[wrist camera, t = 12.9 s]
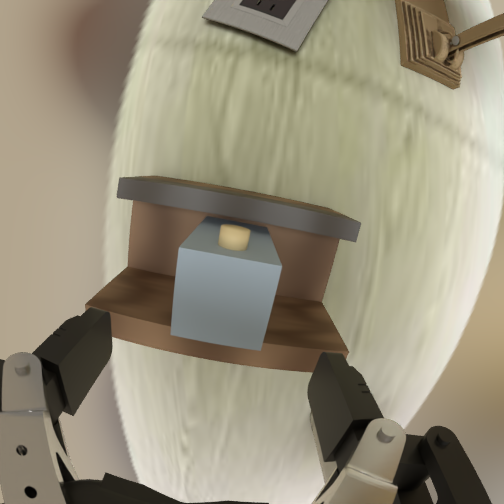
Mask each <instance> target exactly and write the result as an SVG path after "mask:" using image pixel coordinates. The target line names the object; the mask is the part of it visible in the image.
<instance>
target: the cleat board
mask: <svg viewBox="0 0 504 504" xmlns="http://www.w3.org/2000/svg"><path fill="white" fill-rule="evenodd" d="M117 198H121V199H128V200H133V207H132V216H131V226H130V238H129V251H128V267H127V268H125V269H124V270H123V271H122V272H121V273H120V274H119V275H117V276H116V277H115V278H114V279H113V280H112V281H111V282H109V283H108V284H107V285H106V286H105V287H104V288H103V289H102V290H100V291H99V292H98V293H97V294H96V295H95V296H94V297H93V298H92V299H91V300H89V301H88V302H87V303H86V304H85V308H86V311H87V310H88V309H89V308H90V307H94V308H98V309H101V310H104V311H108V312H109V313H110V315H111V331H112V337H115V338H118V339H122V340H125V341H129V342H133V343H136V344H140V345H144V346H148V347H152V348H156V349H161V350H165V351H169V352H174V353H179V354H183V355H188V356H193V357H198V358H204V359H209V360H215V361H220V362H227V363H233V364H240V365H247V366H254V367H262V368H270V369H279V370H289V371H300V372H314V369H315V367H316V364H317V362H318V359H319V357H320V355H321V353H322V352H333V353H342V354H343V355H344V357H345V359H346V357H347V355H348V353H349V351H348V349H347V347H346V345H345V343H344V342H343V340H342V338H341V336H340V334H339V332H338V330H337V329H336V327H335V325H334V323H333V321H332V320H331V318H330V316H329V314H328V312H327V311H326V309H325V307H324V305H323V303H322V299H323V296H324V293H325V289H326V286H327V283H328V279H329V276H330V272H331V269H332V265H333V262H334V258H335V254H336V251H337V247H338V243H339V239H343V240H348V241H353V242H356V240H357V237H358V233H359V229H360V225H361V223H360V222H358V221H356V220H354V219H352V218H349V217H347V216H345V215H343V214H341V213H338V212H336V211H334V210H332V209H329V208H325V207H321V206H317V205H313V204H308V203H304V202H299V201H295V200H290V199H285V198H281V197H276V196H271V195H266V194H261V193H256V192H251V191H246V190H240V189H235V188H229V187H224V186H218V185H212V184H206V183H200V182H194V181H188V180H181V179H174V178H167V177H160V176H139V177H123V178H119V183H118V191H117ZM206 216H210V217H215V218H221V219H226V220H232V221H237V222H242V223H248V224H253V225H258V226H263V227H267V228H268V231H269V233H270V236H271V239H272V241H273V244H274V246H275V249H276V251H277V254H278V257H279V259H280V262H281V264H282V269H281V273H280V277H279V282H278V286H277V290H276V294H275V298H274V302H273V306H272V310H271V313H270V317H269V321H268V325H267V329H266V333H265V336H264V340H263V344H262V348H261V351H258V350H251V349H244V348H238V347H231V346H225V345H220V344H214V343H208V342H203V341H198V340H193V339H188V338H183V337H178V336H174V335H170V334H171V320H172V308H173V297H174V287H175V277H176V268H177V259H178V251H179V247H180V245H181V244H182V243H183V242H184V241H185V240H186V239H187V238H188V236H189V235H190V234H191V233H192V232H193V231H194V230H195V229H196V227H197V226H198V225H199V224H200V223H201V222H202V221H203V220H204V219H205V218H206Z"/></svg>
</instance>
